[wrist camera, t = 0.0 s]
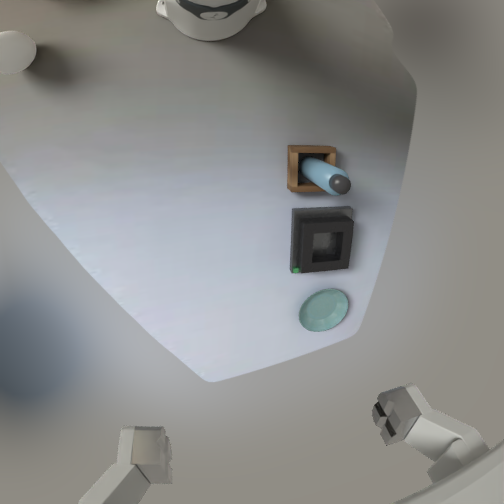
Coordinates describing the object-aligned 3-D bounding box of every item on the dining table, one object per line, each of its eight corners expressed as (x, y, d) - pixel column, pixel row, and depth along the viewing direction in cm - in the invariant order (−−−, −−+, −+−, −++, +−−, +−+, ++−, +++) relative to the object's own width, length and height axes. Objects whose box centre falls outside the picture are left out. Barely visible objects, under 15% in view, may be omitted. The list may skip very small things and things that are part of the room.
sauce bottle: (52, 47, 37) (0, 30, 21) (28, 82, 39) (-28, 79, 23) (29, 31, 34) (-23, 14, 18) (7, 65, 36) (-49, 60, 20)
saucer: (314, 333, 73) (317, 339, 71) (286, 307, 68) (288, 313, 66) (352, 303, 71) (356, 309, 69) (327, 274, 66) (331, 279, 64)
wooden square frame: (287, 145, 53) (292, 147, 50) (329, 145, 54) (335, 147, 51) (287, 188, 56) (291, 192, 53) (327, 187, 57) (333, 191, 55)
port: (292, 208, 58) (298, 216, 54) (349, 206, 60) (359, 213, 56) (289, 269, 64) (295, 280, 60) (343, 264, 65) (351, 274, 61)
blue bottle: (298, 156, 54) (330, 171, 40) (319, 156, 54) (356, 171, 41) (298, 177, 56) (328, 199, 42) (318, 177, 56) (353, 198, 43)
